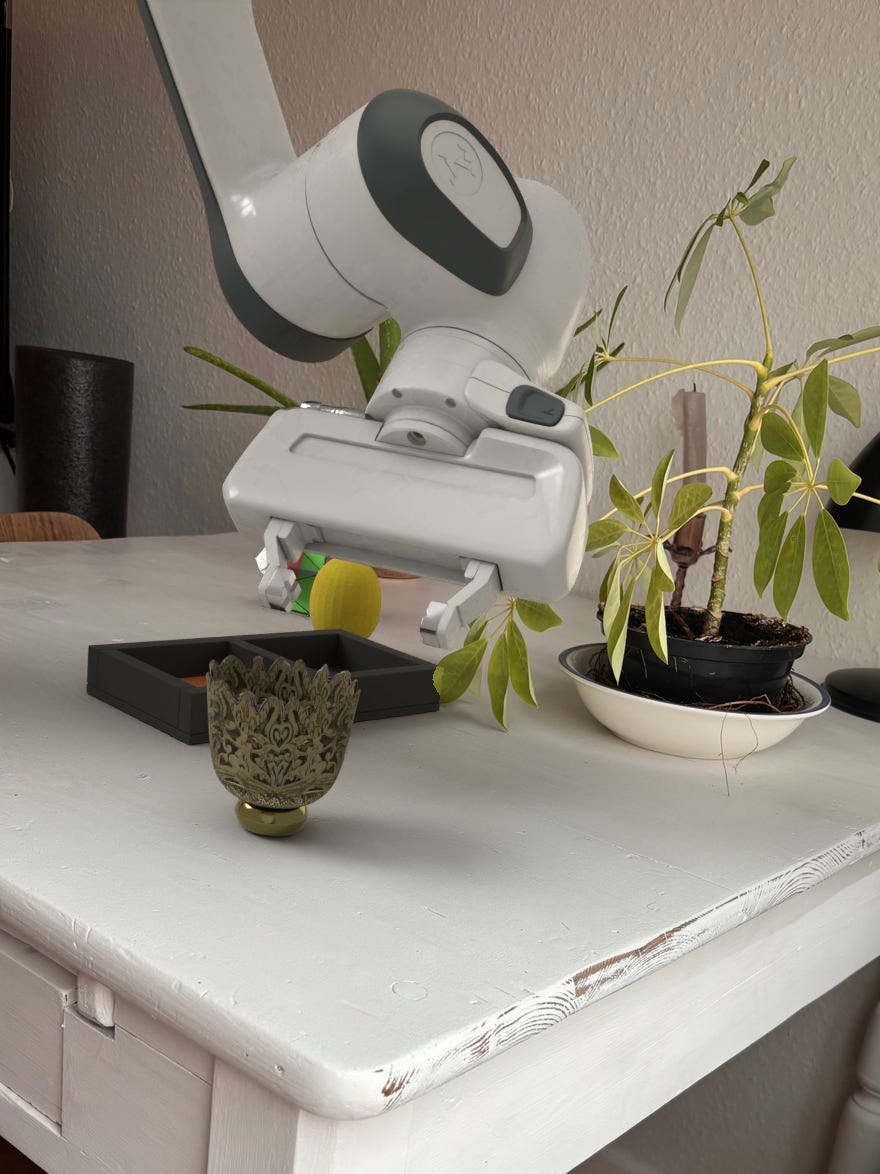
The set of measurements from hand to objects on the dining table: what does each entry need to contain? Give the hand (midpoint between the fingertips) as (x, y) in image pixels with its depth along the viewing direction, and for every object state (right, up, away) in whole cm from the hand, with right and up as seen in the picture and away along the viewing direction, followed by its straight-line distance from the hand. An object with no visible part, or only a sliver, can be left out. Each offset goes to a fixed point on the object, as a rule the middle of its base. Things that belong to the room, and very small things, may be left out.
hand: (351, 622), depth 67 cm
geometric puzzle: (-10, +10, +47) cm, 49 cm away
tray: (-7, -2, +19) cm, 20 cm away
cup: (-4, -11, -2) cm, 12 cm away
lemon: (-4, +3, +34) cm, 35 cm away
